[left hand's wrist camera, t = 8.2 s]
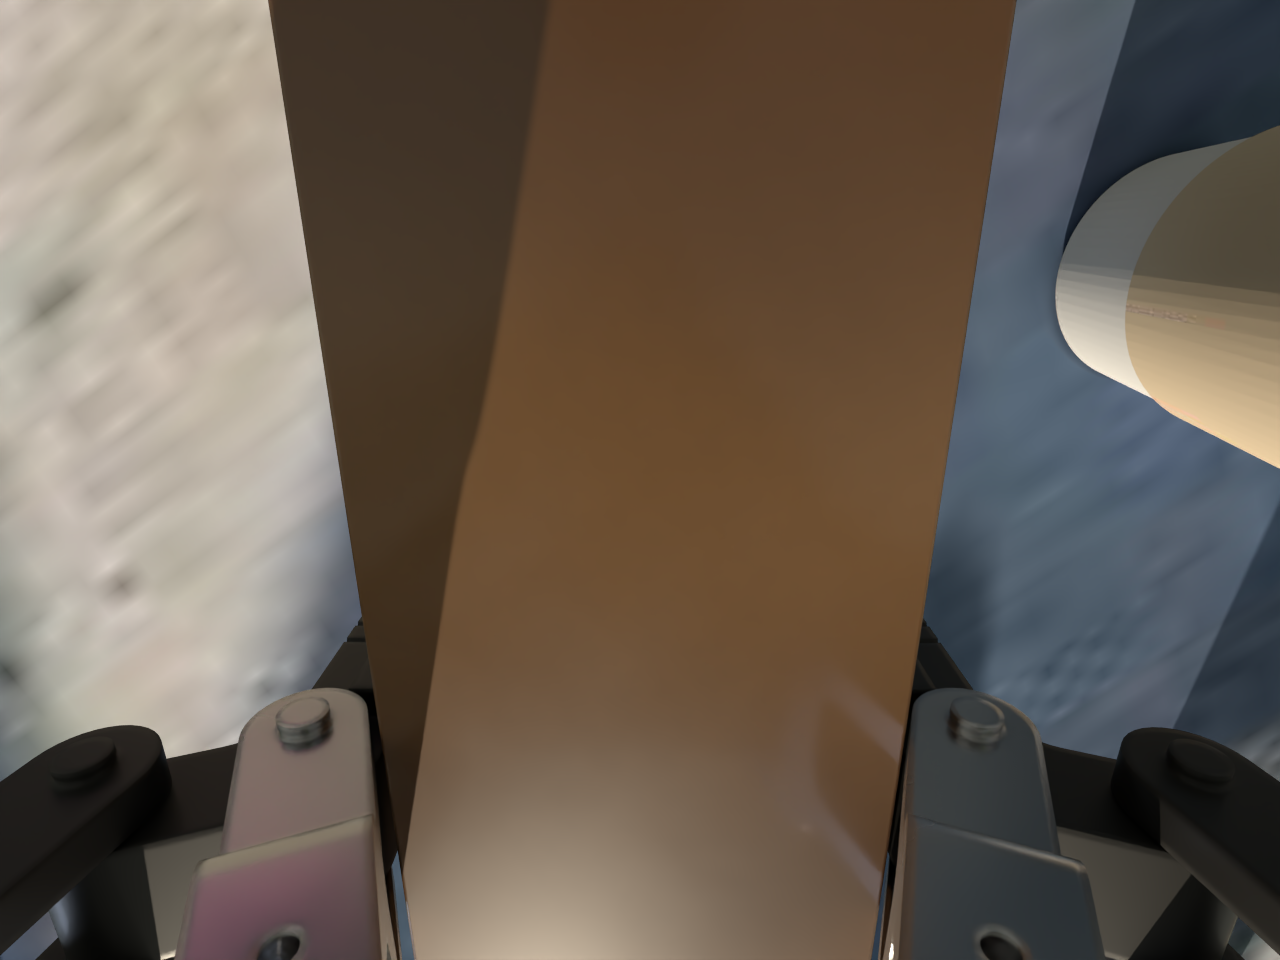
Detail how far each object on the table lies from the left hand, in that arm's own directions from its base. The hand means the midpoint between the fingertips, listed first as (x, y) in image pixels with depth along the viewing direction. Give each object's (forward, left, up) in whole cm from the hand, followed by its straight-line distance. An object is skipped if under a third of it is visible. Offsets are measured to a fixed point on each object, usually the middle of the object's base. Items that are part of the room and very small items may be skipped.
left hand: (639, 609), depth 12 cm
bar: (-4, +7, -4) cm, 8 cm away
